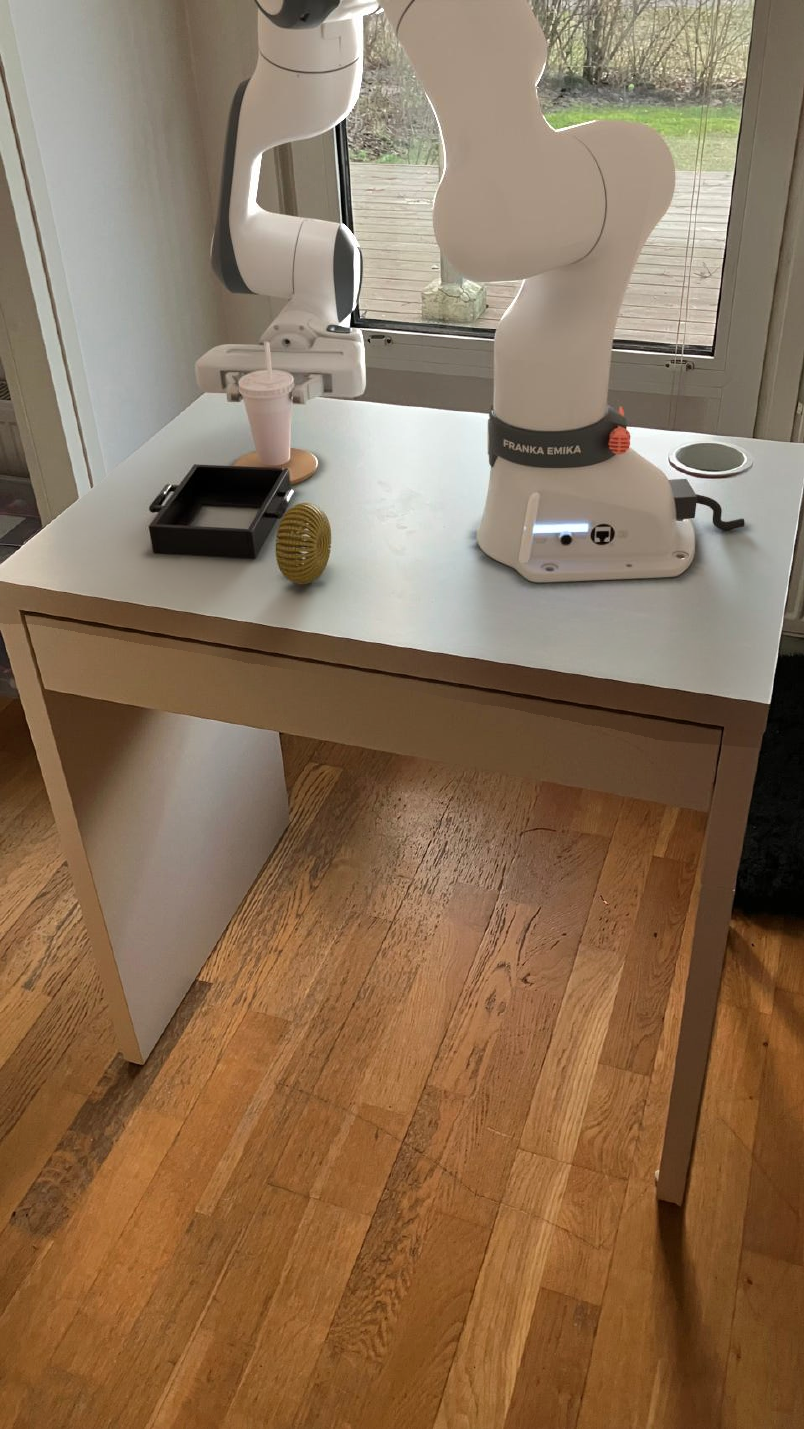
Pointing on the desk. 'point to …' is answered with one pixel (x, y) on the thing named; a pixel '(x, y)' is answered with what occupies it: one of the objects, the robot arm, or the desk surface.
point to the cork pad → (287, 464)
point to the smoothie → (269, 411)
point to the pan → (223, 490)
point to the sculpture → (303, 543)
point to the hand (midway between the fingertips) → (265, 397)
